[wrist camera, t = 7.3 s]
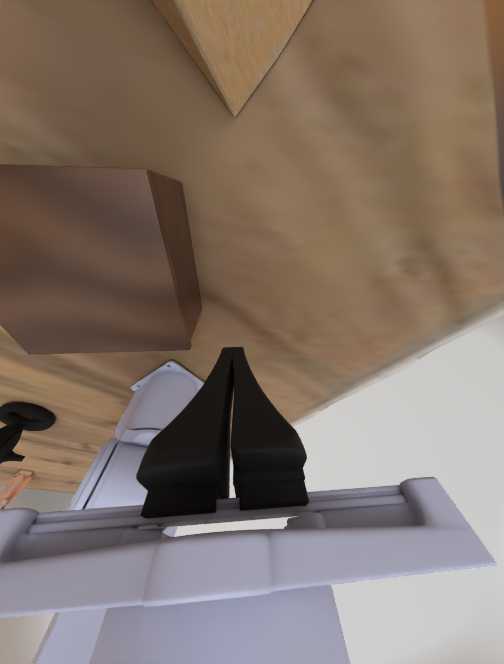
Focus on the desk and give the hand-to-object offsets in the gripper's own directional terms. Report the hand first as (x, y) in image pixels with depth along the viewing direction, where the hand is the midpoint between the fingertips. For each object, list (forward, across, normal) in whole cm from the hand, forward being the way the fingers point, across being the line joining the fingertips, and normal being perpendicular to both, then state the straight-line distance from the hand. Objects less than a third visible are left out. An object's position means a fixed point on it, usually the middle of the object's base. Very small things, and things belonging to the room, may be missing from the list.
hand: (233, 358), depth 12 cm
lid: (+4, +11, -4) cm, 12 cm away
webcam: (+11, +37, +21) cm, 44 cm away
